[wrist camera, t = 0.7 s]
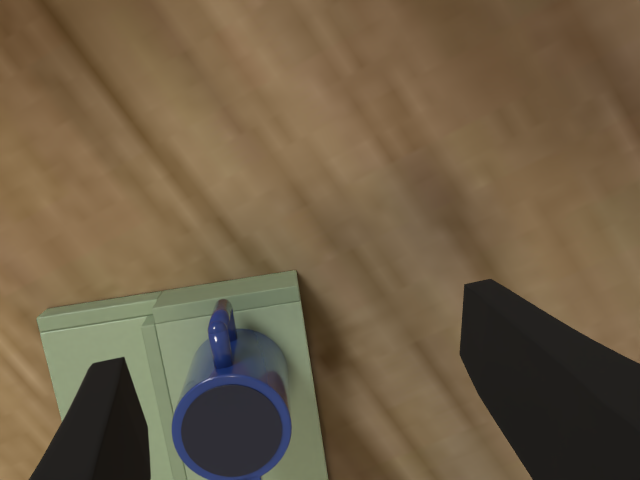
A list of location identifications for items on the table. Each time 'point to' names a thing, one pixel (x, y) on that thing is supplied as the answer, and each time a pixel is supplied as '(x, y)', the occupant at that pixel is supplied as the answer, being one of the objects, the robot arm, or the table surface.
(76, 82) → the table surface
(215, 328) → the jug
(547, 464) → the robot arm
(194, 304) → the step rack
